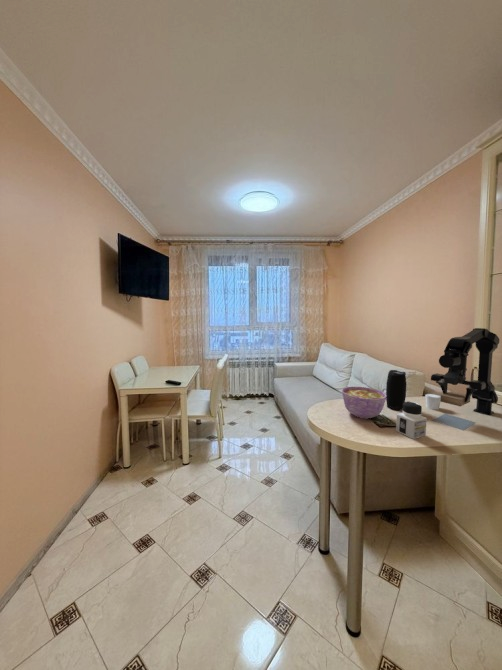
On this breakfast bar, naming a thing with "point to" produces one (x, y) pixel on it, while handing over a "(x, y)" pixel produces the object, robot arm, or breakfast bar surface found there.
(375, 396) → the bowl of food
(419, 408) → the container
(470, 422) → the rubber mat
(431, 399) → the white cup
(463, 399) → the brown rectangular block
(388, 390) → the portable speaker
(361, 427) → the breakfast bar surface
